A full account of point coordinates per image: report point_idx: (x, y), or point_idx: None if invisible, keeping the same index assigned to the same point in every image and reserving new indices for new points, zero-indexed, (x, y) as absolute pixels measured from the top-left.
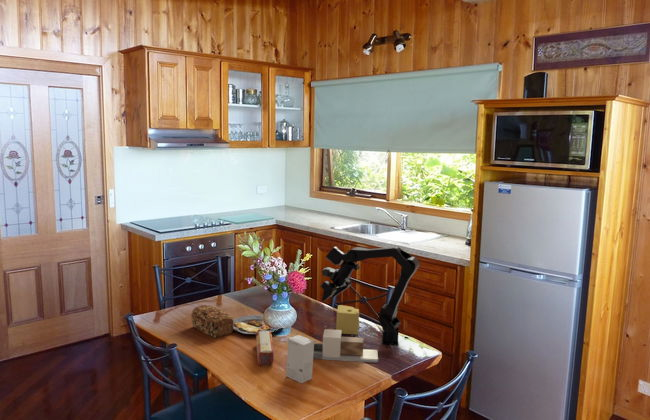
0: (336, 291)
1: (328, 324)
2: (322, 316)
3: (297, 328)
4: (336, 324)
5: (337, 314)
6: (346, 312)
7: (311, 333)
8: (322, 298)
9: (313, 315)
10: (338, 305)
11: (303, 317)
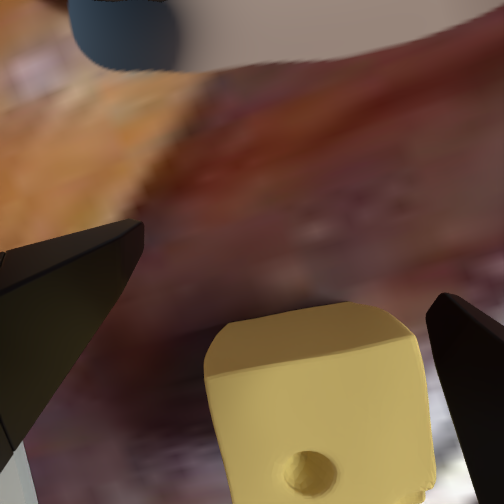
0: (496, 411)
1: (351, 239)
2: (479, 161)
3: (218, 84)
4: (212, 341)
5: (204, 376)
6: (243, 460)
7: (174, 189)
8: (103, 232)
9: (477, 99)
10: (409, 341)
11: (416, 50)
